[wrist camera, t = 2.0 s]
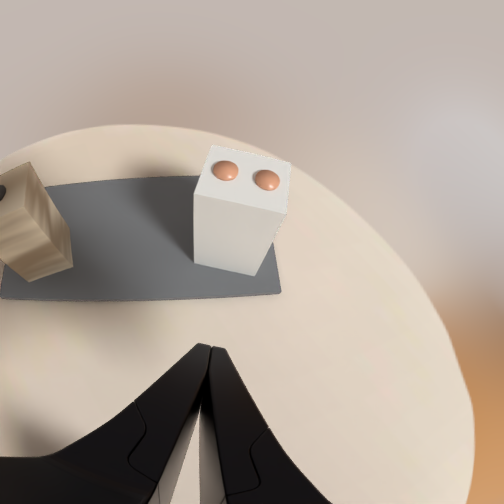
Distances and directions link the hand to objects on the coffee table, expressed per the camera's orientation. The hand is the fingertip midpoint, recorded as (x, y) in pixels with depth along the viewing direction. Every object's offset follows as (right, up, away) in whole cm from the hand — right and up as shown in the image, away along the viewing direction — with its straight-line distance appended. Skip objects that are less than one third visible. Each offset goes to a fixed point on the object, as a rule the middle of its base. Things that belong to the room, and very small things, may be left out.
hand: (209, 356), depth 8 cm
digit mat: (-10, +5, +15) cm, 18 cm away
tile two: (-1, +3, +15) cm, 16 cm away
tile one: (-17, +3, +12) cm, 21 cm away
